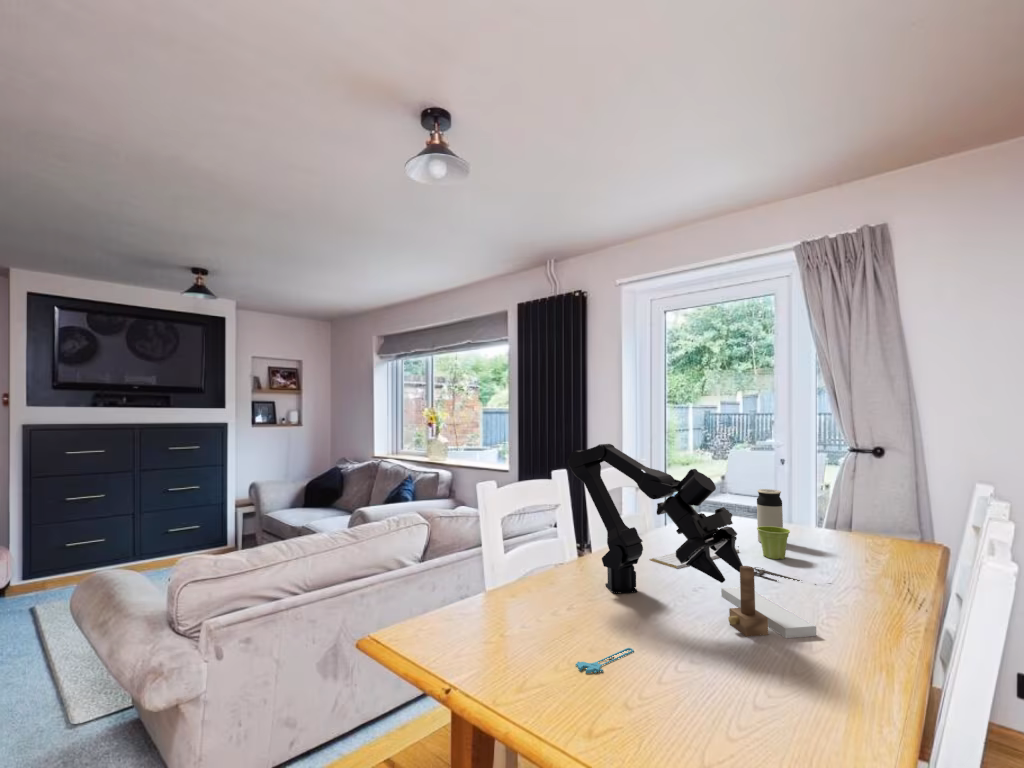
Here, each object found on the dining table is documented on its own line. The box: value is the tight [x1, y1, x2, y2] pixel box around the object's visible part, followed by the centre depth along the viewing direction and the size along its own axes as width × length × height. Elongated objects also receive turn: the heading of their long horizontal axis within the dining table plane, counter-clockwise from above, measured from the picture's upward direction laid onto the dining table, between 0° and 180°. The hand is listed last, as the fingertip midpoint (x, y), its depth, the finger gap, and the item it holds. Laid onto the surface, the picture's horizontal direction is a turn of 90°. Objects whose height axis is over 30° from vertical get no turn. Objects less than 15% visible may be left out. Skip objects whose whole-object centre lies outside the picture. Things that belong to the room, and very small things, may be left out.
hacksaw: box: [753, 566, 803, 582], centre depth 143 cm, size 24×10×2 cm, turn 36°
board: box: [720, 586, 817, 639], centre depth 118 cm, size 7×24×2 cm, turn 8°
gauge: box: [728, 565, 769, 638], centre depth 110 cm, size 7×6×13 cm
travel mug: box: [756, 488, 784, 543], centre depth 181 cm, size 8×8×18 cm
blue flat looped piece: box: [575, 647, 635, 674], centre depth 97 cm, size 14×1×5 cm
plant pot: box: [756, 526, 791, 560], centre depth 163 cm, size 9×9×9 cm
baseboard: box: [649, 545, 740, 570], centre depth 166 cm, size 31×3×12 cm
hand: (733, 576), depth 113 cm, fingers open, 9 cm apart
